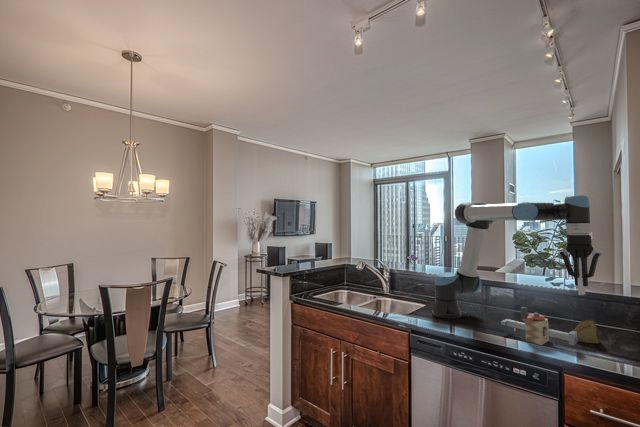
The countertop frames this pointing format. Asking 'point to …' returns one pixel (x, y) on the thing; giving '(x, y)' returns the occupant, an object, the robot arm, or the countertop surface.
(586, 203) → the robot arm
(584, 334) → the rock
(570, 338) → the hook bar
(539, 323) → the eye block
